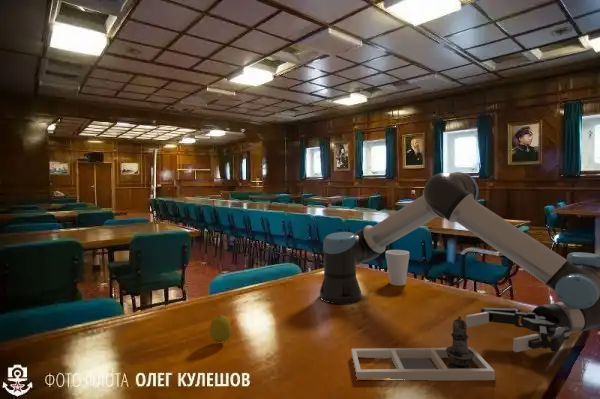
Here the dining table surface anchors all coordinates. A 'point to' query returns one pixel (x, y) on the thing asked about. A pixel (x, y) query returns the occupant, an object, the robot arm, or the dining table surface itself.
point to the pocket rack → (420, 365)
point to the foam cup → (397, 266)
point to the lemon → (220, 328)
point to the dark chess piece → (459, 347)
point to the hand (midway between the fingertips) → (488, 332)
